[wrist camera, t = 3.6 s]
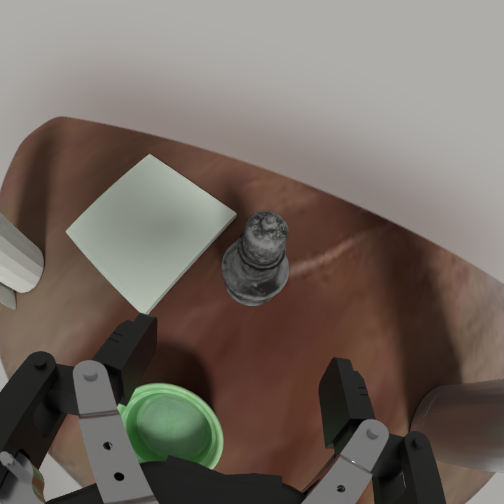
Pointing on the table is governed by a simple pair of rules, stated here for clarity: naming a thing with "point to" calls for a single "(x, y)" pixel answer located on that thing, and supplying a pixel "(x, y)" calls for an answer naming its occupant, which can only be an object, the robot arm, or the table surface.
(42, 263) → the paper towel roll
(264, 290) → the salt shaker
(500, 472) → the robot arm
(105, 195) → the sage tile
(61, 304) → the table surface
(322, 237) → the table surface
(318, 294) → the table surface
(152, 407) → the ramekin
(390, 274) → the table surface
